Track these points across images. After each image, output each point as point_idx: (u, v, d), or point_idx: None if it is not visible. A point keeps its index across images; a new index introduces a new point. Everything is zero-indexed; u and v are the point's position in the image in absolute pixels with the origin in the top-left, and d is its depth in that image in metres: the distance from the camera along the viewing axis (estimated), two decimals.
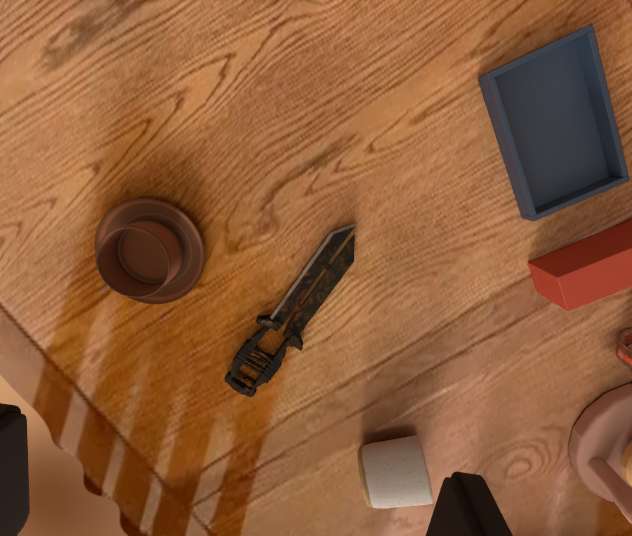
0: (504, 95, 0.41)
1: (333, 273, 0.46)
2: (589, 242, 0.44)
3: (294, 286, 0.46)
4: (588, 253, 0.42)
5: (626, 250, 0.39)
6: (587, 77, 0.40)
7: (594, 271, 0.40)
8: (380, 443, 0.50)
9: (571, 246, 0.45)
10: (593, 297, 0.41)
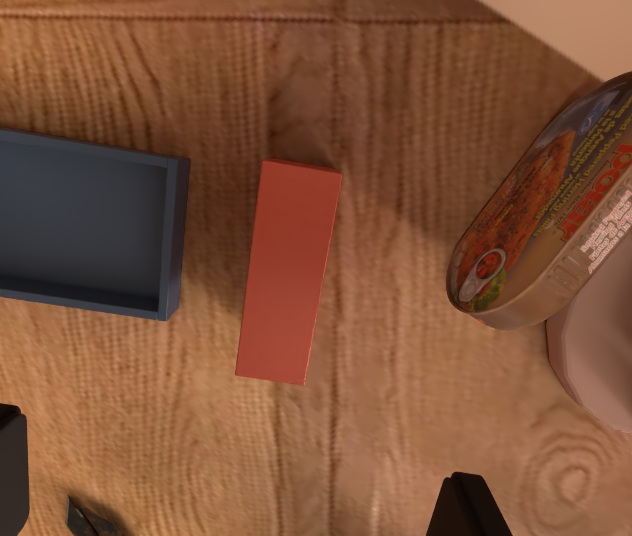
0: None
1: None
2: None
3: None
4: None
5: (250, 259, 0.21)
6: None
7: (257, 321, 0.22)
8: None
9: None
10: (304, 341, 0.22)
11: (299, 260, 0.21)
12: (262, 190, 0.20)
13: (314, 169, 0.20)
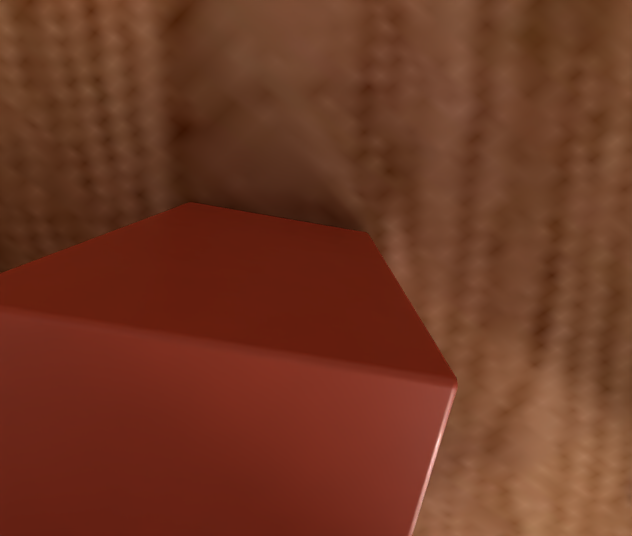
0: None
1: None
2: None
3: None
4: None
5: None
6: None
7: None
8: None
9: None
10: None
11: None
12: None
13: (280, 354, 0.03)
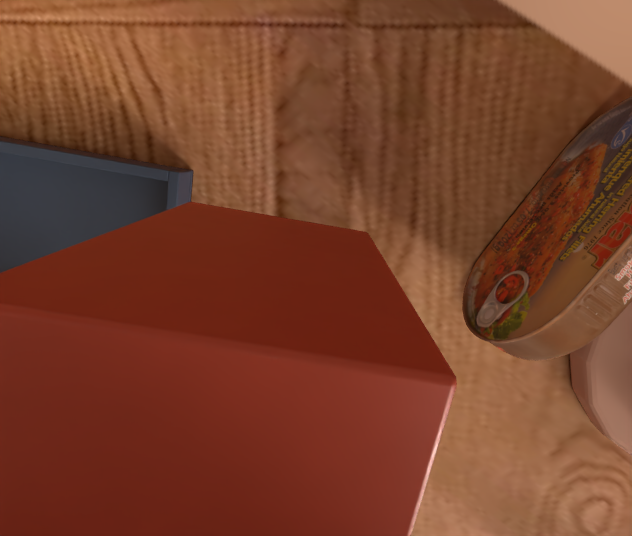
0: None
1: None
2: None
3: None
4: None
5: None
6: None
7: None
8: None
9: None
10: None
11: None
12: None
13: (280, 352, 0.03)
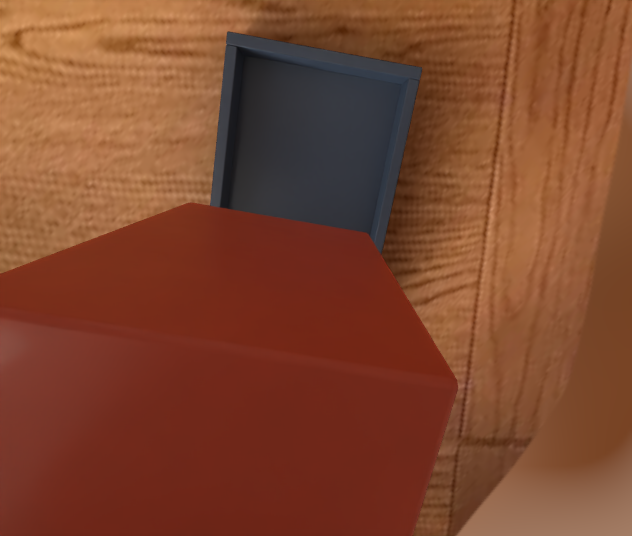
0: (260, 99, 0.23)
1: None
2: None
3: None
4: None
5: None
6: (387, 154, 0.23)
7: None
8: None
9: None
10: None
11: None
12: None
13: (280, 355, 0.03)
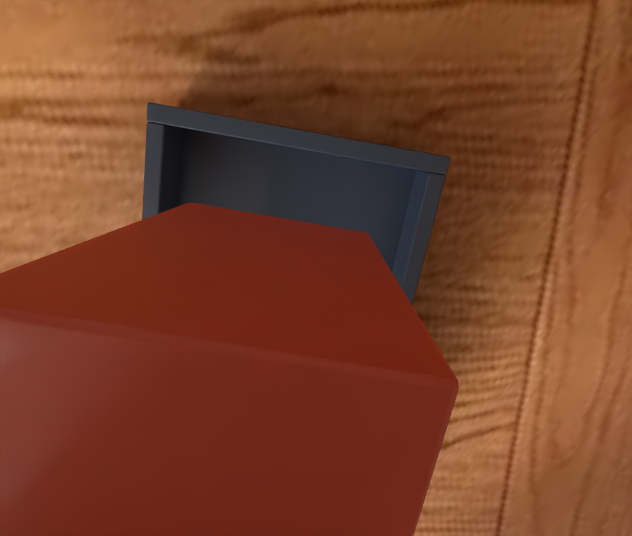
0: (210, 189, 0.16)
1: None
2: None
3: None
4: None
5: None
6: (395, 267, 0.16)
7: None
8: None
9: None
10: None
11: None
12: None
13: (280, 355, 0.03)
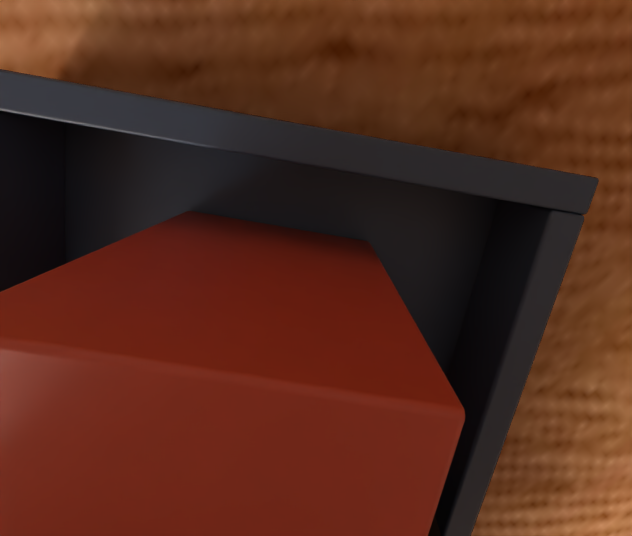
0: (122, 232, 0.09)
1: None
2: None
3: None
4: None
5: None
6: (456, 370, 0.09)
7: None
8: None
9: None
10: None
11: None
12: None
13: (281, 384, 0.03)
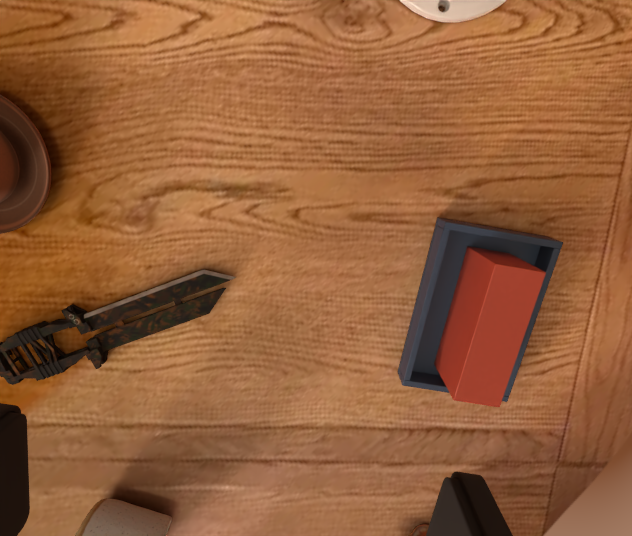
0: (450, 251, 0.36)
1: (180, 312, 0.37)
2: (455, 309, 0.36)
3: (130, 299, 0.37)
4: (459, 338, 0.34)
5: (477, 324, 0.31)
6: None
7: (475, 364, 0.32)
8: (125, 507, 0.42)
9: (448, 321, 0.37)
10: (504, 378, 0.33)
11: (509, 325, 0.31)
12: (492, 282, 0.30)
13: (528, 269, 0.30)
